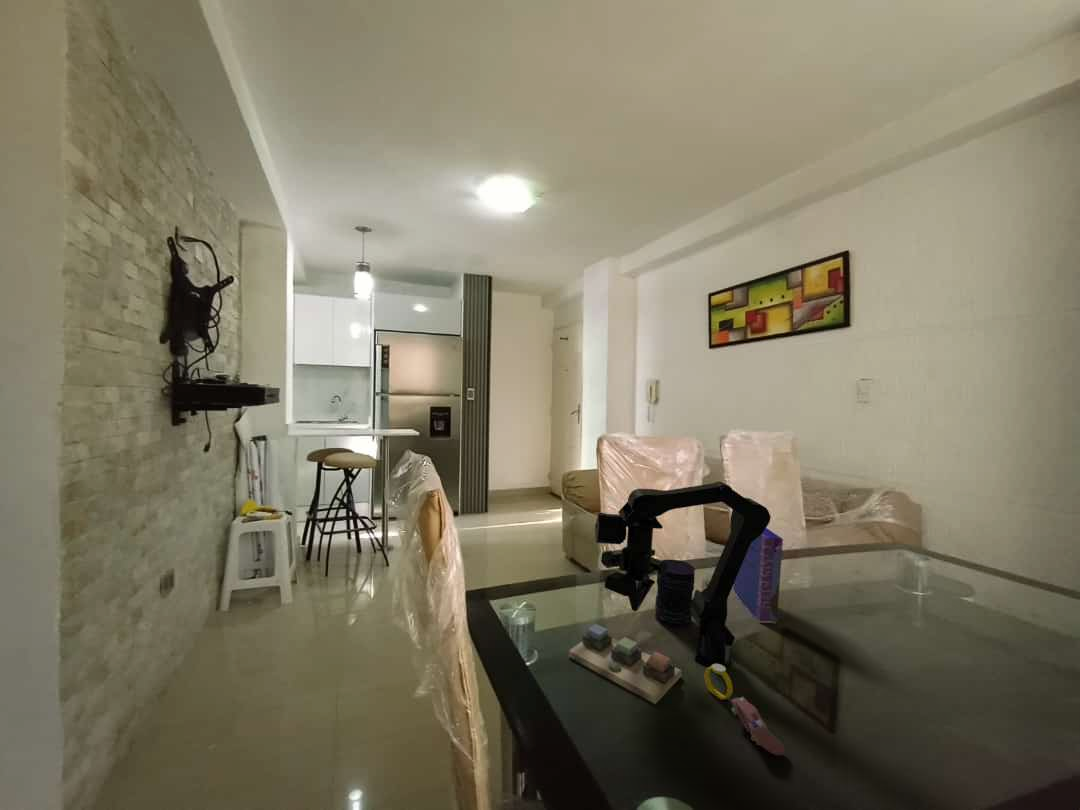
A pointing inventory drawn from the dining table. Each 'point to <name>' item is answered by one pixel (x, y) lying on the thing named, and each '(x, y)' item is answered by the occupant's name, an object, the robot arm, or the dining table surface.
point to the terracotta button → (659, 662)
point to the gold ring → (722, 671)
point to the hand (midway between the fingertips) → (634, 610)
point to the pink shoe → (756, 726)
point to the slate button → (597, 632)
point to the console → (625, 667)
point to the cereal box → (761, 576)
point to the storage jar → (675, 595)
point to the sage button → (626, 646)
